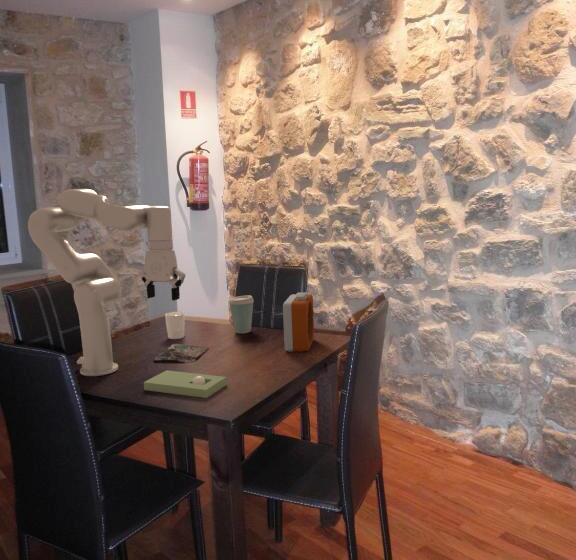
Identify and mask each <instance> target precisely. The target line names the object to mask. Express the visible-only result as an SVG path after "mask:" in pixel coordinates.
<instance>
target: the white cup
mask: <svg viewBox="0 0 576 560" xmlns="http://www.w3.org/2000/svg"><path fill="white" fill-rule="evenodd" d="M164 317H165V325H166V332H167V338H168V339H170V340H179V339H183V338H184V337H185V328H186V327H185V326H186V325H185V324H186V323H185V322H186V321H185V320H186V319H185V312H183V311H172V312H171V311H169V312H166V313H165V314H164Z"/></svg>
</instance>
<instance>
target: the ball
mask: <svg viewBox="0 0 576 560" xmlns="http://www.w3.org/2000/svg"><path fill="white" fill-rule="evenodd" d="M205 383H206V382H205V379H204V378H203V377H201V376H197V377H195V378H194V379H193V381H192V384H200V385H204V384H205Z"/></svg>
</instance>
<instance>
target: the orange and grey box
mask: <svg viewBox="0 0 576 560" xmlns="http://www.w3.org/2000/svg"><path fill="white" fill-rule="evenodd" d="M282 316H283V317H282V318H283V319H282V320H283V336H284V337H283V339H284V341H283V343H284V351H285V352H287V351H288V353H289V352H291V353H293V352H294V353H295V352H296V353H297V352H298V353H299V352H300V353H301V352H302V353H304V352H303V351H307V352H309V350H310V349H311V346H312V344H313V342H314V340H315V328H314V327H315V326H314V323H315V322H314V321H315V320H314V296H313V294H311V293H310V294H309V293H308V292H297V293H296V294H290V295H289V297H287V299H286V300H285V301H284V302H283V304H282Z"/></svg>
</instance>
